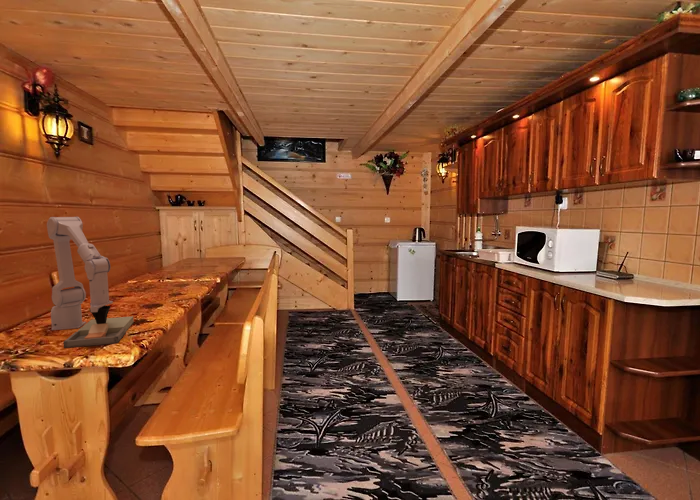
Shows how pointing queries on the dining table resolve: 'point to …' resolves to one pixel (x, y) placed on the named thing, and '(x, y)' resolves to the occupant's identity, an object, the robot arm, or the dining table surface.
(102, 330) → the cream tile
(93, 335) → the terracotta tile
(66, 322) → the robot arm
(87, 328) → the beige square slab
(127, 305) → the dining table surface
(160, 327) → the dining table surface
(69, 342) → the box
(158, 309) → the dining table surface
